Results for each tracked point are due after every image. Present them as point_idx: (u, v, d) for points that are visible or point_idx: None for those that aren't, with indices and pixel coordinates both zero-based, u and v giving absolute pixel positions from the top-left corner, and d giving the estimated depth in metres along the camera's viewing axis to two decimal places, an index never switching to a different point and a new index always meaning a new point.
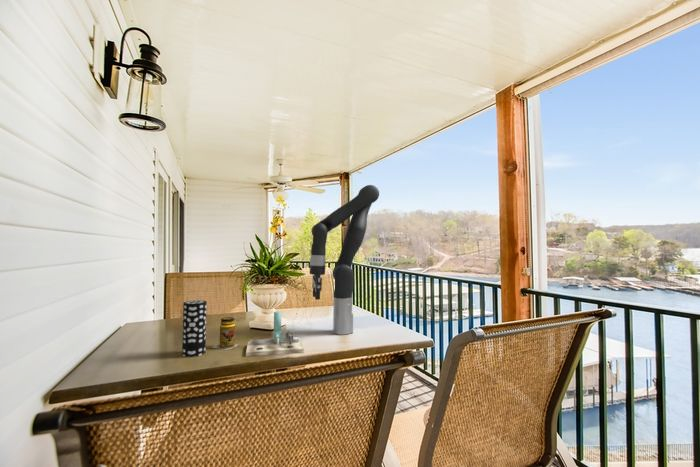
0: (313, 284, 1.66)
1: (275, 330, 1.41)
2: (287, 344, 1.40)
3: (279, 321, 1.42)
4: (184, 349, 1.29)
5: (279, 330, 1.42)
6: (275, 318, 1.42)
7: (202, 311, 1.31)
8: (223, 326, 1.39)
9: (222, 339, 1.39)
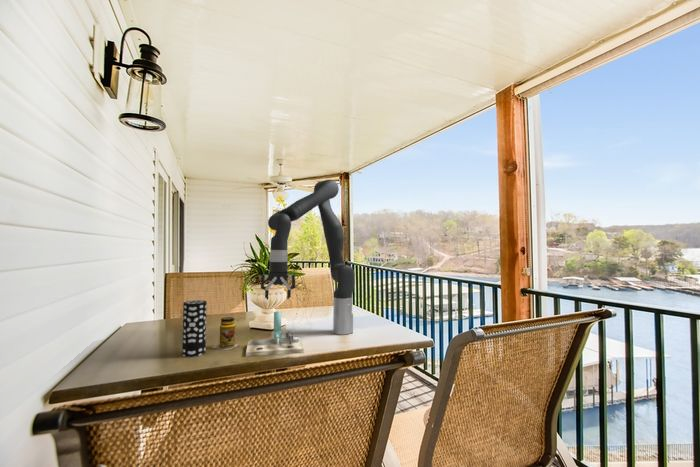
0: (271, 284, 1.42)
1: (275, 330, 1.41)
2: (287, 344, 1.40)
3: (279, 321, 1.42)
4: (184, 349, 1.29)
5: (279, 330, 1.42)
6: (275, 318, 1.42)
7: (202, 311, 1.31)
8: (223, 326, 1.39)
9: (222, 339, 1.39)
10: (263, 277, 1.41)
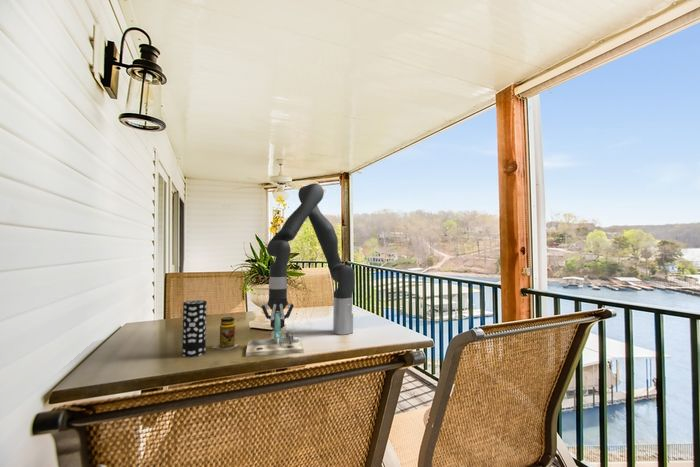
0: (274, 312, 1.41)
1: (275, 330, 1.41)
2: (287, 344, 1.40)
3: (279, 321, 1.42)
4: (184, 349, 1.29)
5: (279, 330, 1.42)
6: (275, 318, 1.42)
7: (202, 311, 1.31)
8: (223, 326, 1.39)
9: (222, 339, 1.39)
10: (264, 307, 1.40)
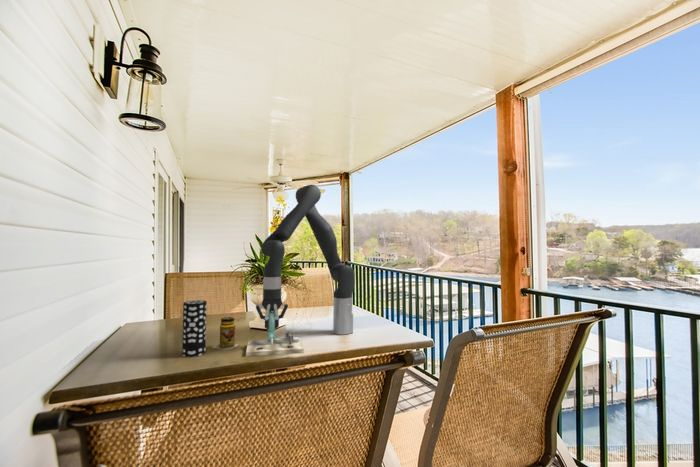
0: (268, 312, 1.41)
1: (269, 330, 1.41)
2: (287, 344, 1.40)
3: (273, 321, 1.41)
4: (184, 349, 1.29)
5: (273, 330, 1.41)
6: (269, 318, 1.41)
7: (202, 311, 1.31)
8: (223, 326, 1.39)
9: (222, 339, 1.39)
10: (258, 308, 1.40)
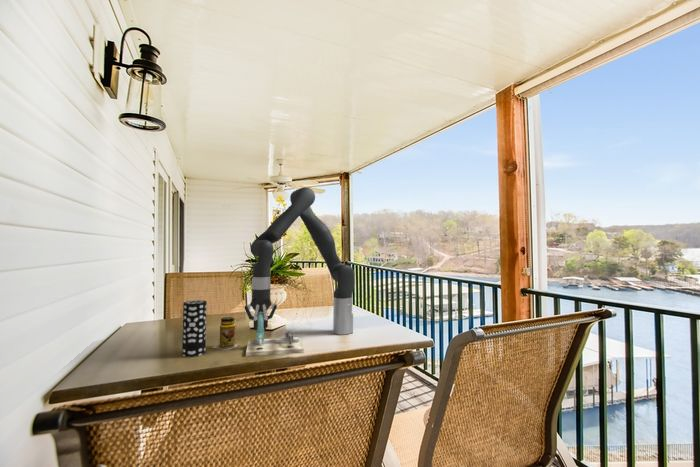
0: (257, 312, 1.40)
1: (258, 331, 1.40)
2: (287, 344, 1.40)
3: (262, 322, 1.40)
4: (184, 349, 1.29)
5: (262, 331, 1.40)
6: (258, 319, 1.40)
7: (202, 311, 1.31)
8: (223, 326, 1.39)
9: (222, 339, 1.39)
10: (246, 308, 1.39)
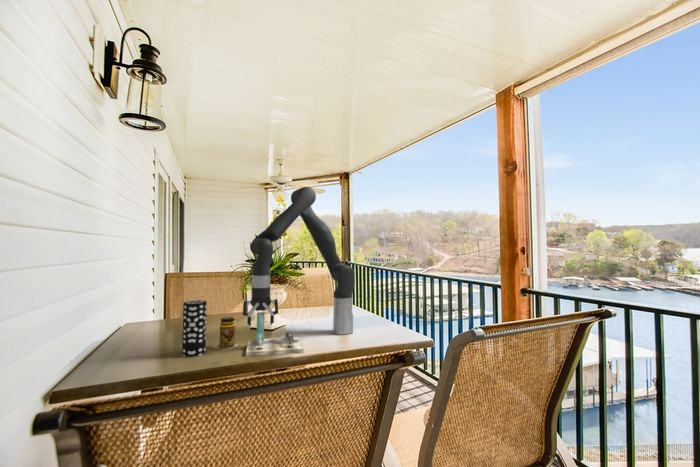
0: (254, 310, 1.39)
1: (258, 331, 1.40)
2: (287, 344, 1.40)
3: (262, 322, 1.40)
4: (184, 349, 1.29)
5: (262, 331, 1.40)
6: (258, 319, 1.40)
7: (202, 311, 1.31)
8: (223, 326, 1.39)
9: (222, 339, 1.39)
10: (245, 303, 1.39)
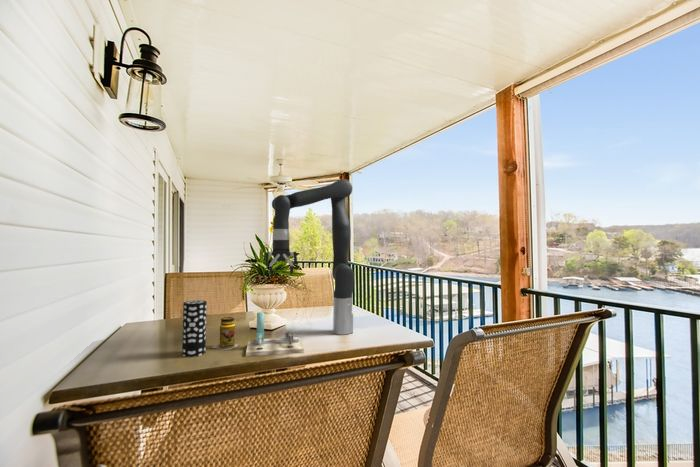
0: None
1: (258, 331, 1.40)
2: (287, 344, 1.40)
3: (262, 322, 1.40)
4: (184, 349, 1.29)
5: (262, 331, 1.40)
6: (258, 319, 1.40)
7: (202, 311, 1.31)
8: (223, 326, 1.39)
9: (222, 339, 1.39)
10: (267, 254, 1.52)
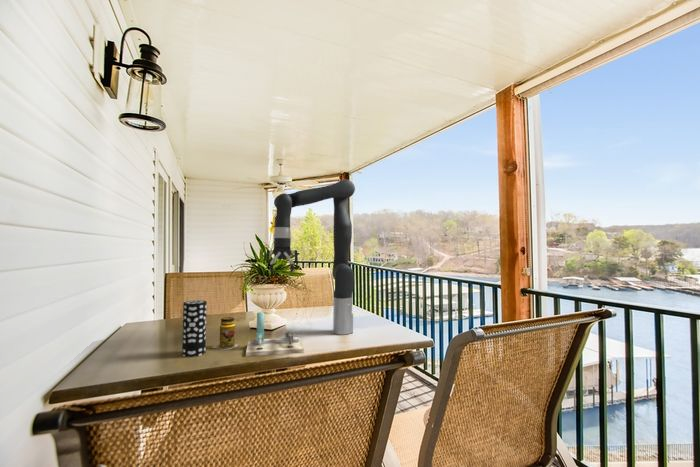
0: None
1: (258, 331, 1.40)
2: (287, 344, 1.40)
3: (262, 322, 1.40)
4: (184, 349, 1.29)
5: (262, 331, 1.40)
6: (258, 319, 1.40)
7: (202, 311, 1.31)
8: (223, 326, 1.39)
9: (222, 339, 1.39)
10: (268, 252, 1.53)
